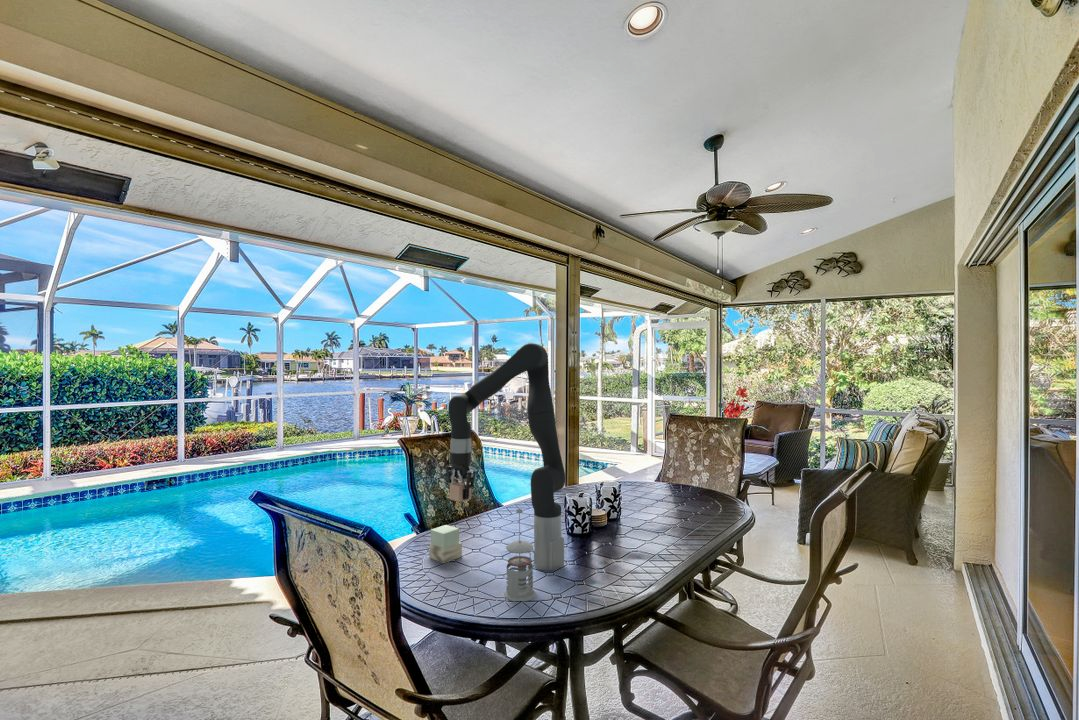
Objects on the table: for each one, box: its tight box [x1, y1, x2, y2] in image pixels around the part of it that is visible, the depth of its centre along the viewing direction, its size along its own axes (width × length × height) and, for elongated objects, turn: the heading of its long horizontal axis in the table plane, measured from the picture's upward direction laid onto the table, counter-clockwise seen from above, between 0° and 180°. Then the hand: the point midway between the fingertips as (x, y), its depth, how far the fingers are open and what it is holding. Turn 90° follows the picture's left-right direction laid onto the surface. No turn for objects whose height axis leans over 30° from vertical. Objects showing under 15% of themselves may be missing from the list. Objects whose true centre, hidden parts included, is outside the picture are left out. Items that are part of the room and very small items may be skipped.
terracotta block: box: [449, 481, 472, 503], centre depth 175 cm, size 6×6×6 cm
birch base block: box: [429, 541, 463, 564], centre depth 172 cm, size 8×8×5 cm
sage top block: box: [430, 524, 460, 548], centre depth 172 cm, size 7×7×5 cm
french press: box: [503, 508, 537, 602], centre depth 145 cm, size 10×12×25 cm
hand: (460, 497), depth 175 cm, fingers closed on terracotta block, 5 cm apart
